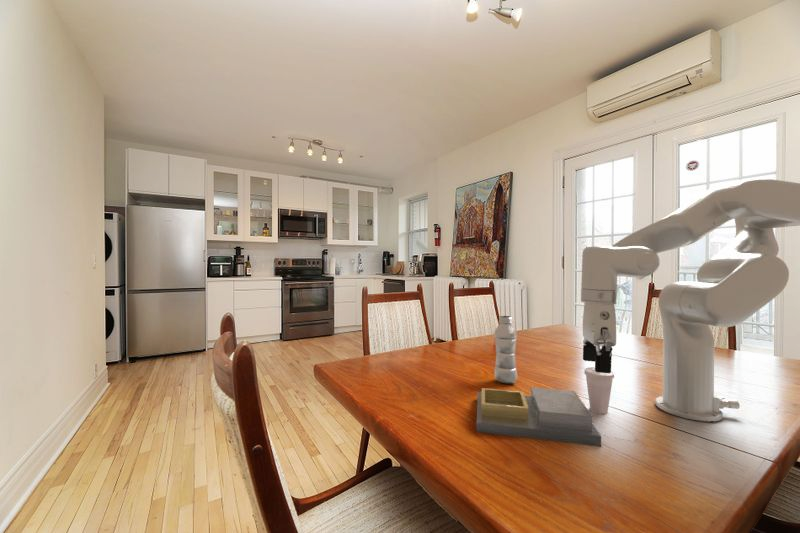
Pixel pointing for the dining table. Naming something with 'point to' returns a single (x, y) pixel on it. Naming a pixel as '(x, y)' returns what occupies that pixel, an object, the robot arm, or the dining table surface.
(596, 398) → the smoothie
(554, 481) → the dining table surface
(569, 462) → the dining table surface
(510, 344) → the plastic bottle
